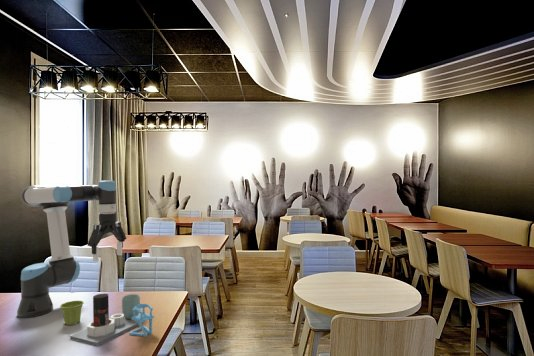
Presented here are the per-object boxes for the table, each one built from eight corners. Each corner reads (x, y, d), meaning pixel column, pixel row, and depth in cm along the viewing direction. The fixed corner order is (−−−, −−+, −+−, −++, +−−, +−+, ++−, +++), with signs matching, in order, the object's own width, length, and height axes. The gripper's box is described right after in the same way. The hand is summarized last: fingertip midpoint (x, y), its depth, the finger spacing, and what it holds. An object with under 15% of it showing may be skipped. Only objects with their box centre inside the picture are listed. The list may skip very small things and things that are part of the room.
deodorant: (96, 328, 153) (96, 293, 154) (110, 327, 154) (110, 293, 154) (91, 334, 148) (90, 298, 148) (105, 333, 148) (105, 297, 148)
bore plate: (70, 338, 146) (70, 327, 146) (113, 319, 166) (113, 309, 166) (97, 345, 140) (97, 334, 140) (139, 325, 160) (139, 314, 160)
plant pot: (59, 328, 157) (59, 308, 157) (61, 321, 166) (60, 302, 166) (83, 324, 162) (83, 305, 162) (83, 317, 170) (83, 299, 170)
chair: (141, 339, 145) (141, 309, 145) (128, 334, 150) (128, 306, 150) (156, 332, 152) (156, 304, 152) (143, 328, 156) (143, 300, 156)
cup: (133, 321, 164) (133, 299, 164) (118, 320, 165) (118, 299, 165) (143, 315, 171) (142, 294, 171) (128, 314, 173) (128, 293, 173)
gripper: (90, 215, 155) (90, 264, 155) (133, 211, 178) (134, 253, 178) (78, 215, 158) (79, 262, 158) (122, 210, 181) (123, 252, 181)
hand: (108, 258), depth 168 cm, fingers open, 13 cm apart
